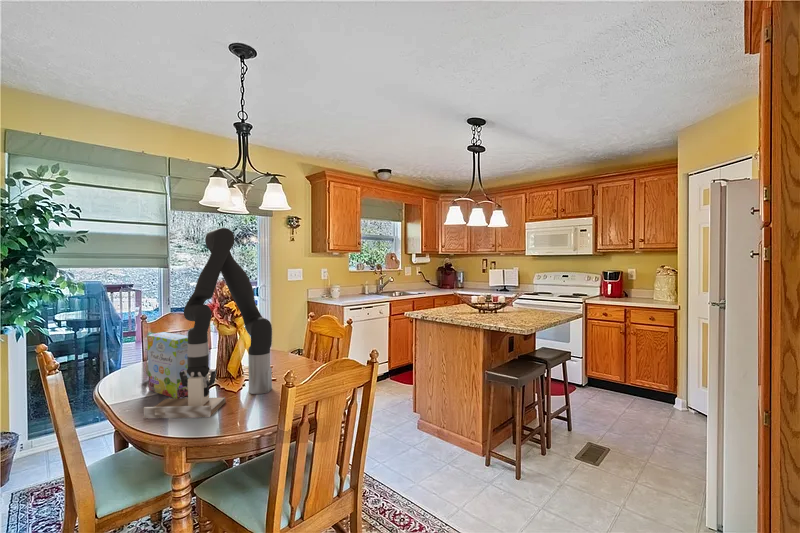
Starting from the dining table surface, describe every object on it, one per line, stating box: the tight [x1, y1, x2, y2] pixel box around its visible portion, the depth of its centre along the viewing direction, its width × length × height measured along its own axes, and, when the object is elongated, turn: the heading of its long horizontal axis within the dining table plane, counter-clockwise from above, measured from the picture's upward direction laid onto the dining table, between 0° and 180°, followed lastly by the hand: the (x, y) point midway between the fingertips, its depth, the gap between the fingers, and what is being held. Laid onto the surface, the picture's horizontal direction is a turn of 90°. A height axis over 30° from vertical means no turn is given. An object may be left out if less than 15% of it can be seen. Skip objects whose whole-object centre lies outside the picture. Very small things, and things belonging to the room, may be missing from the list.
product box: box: [187, 373, 210, 406], centre depth 154 cm, size 5×7×11 cm
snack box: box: [146, 331, 190, 398], centre depth 172 cm, size 22×9×26 cm, turn 62°
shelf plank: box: [143, 397, 226, 419], centre depth 152 cm, size 24×15×4 cm, turn 93°
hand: (198, 396), depth 154 cm, fingers closed on product box, 5 cm apart
